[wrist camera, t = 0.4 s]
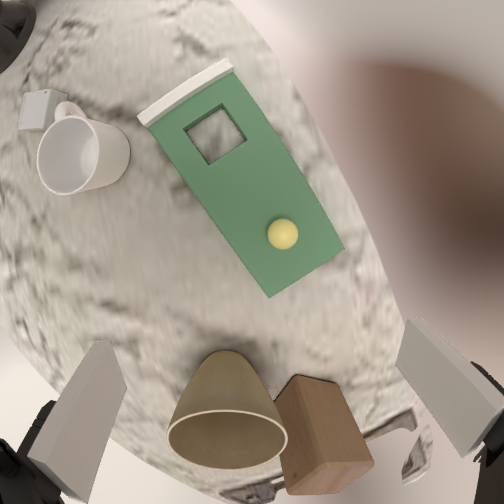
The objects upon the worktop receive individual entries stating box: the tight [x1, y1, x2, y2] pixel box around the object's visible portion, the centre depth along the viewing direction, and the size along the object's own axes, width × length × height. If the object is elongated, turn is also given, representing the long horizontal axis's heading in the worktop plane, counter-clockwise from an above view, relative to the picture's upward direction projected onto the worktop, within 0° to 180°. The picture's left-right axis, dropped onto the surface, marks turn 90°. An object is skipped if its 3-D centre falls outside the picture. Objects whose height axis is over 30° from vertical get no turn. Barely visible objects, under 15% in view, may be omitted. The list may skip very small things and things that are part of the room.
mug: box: [37, 101, 130, 196], centre depth 26 cm, size 12×8×10 cm
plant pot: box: [166, 350, 288, 470], centre depth 36 cm, size 15×15×16 cm
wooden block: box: [274, 375, 374, 495], centre depth 38 cm, size 10×10×20 cm
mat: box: [137, 57, 345, 298], centre depth 33 cm, size 28×12×4 cm, turn 33°
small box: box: [17, 88, 68, 132], centre depth 27 cm, size 6×6×5 cm
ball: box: [267, 219, 298, 249], centre depth 33 cm, size 4×4×4 cm
